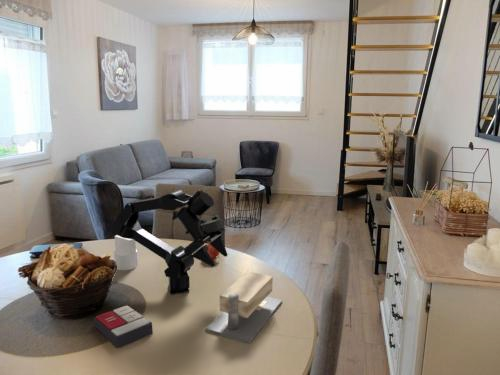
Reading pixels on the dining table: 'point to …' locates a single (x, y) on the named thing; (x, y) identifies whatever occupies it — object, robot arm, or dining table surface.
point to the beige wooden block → (245, 296)
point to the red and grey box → (123, 326)
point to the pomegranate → (212, 251)
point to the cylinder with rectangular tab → (125, 253)
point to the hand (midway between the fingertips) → (220, 260)
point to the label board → (245, 321)
